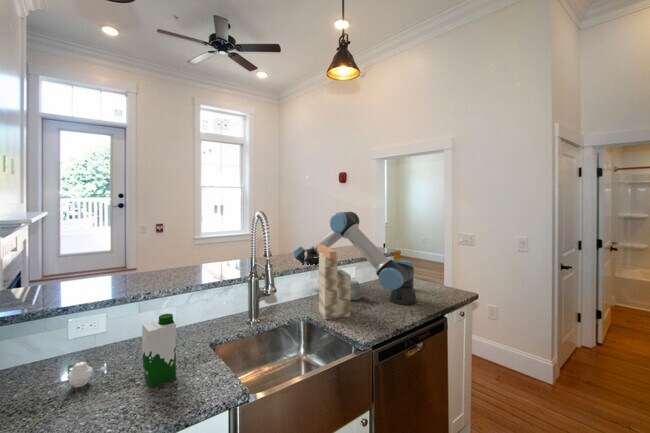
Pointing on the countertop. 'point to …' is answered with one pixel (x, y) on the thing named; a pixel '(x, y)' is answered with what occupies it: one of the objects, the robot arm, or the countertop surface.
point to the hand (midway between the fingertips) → (318, 252)
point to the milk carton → (159, 350)
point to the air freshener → (355, 291)
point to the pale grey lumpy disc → (80, 374)
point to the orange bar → (326, 251)
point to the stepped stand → (333, 289)
